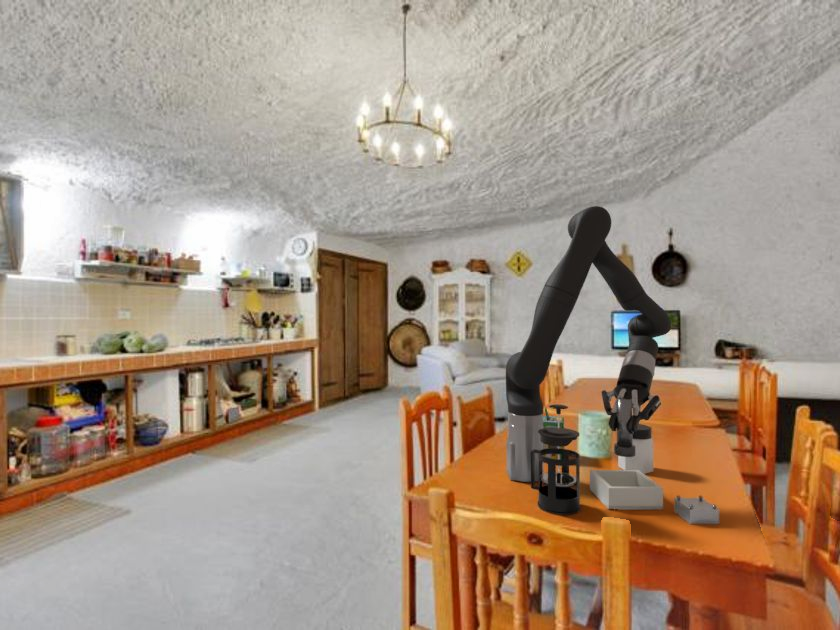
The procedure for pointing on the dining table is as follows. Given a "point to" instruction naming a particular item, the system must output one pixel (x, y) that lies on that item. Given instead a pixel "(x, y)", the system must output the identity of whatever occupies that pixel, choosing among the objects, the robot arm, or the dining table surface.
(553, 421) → the chalk box
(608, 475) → the bin
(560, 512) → the french press
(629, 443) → the grey metal flanged cylinder
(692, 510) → the stud mount
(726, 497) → the dining table surface
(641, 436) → the jar
